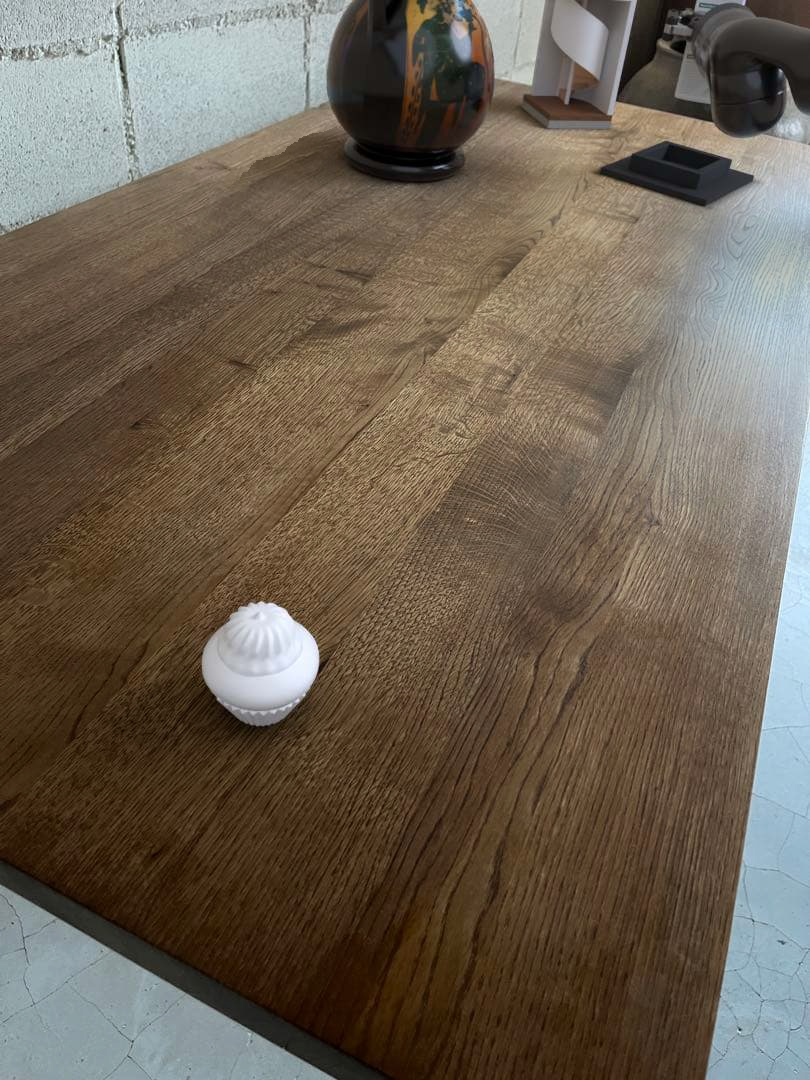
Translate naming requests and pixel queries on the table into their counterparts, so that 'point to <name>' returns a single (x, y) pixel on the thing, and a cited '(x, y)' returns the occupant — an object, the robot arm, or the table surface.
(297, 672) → the muffin
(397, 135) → the amphora vase
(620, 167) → the dock pad
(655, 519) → the table surface
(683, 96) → the syrup box
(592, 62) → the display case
